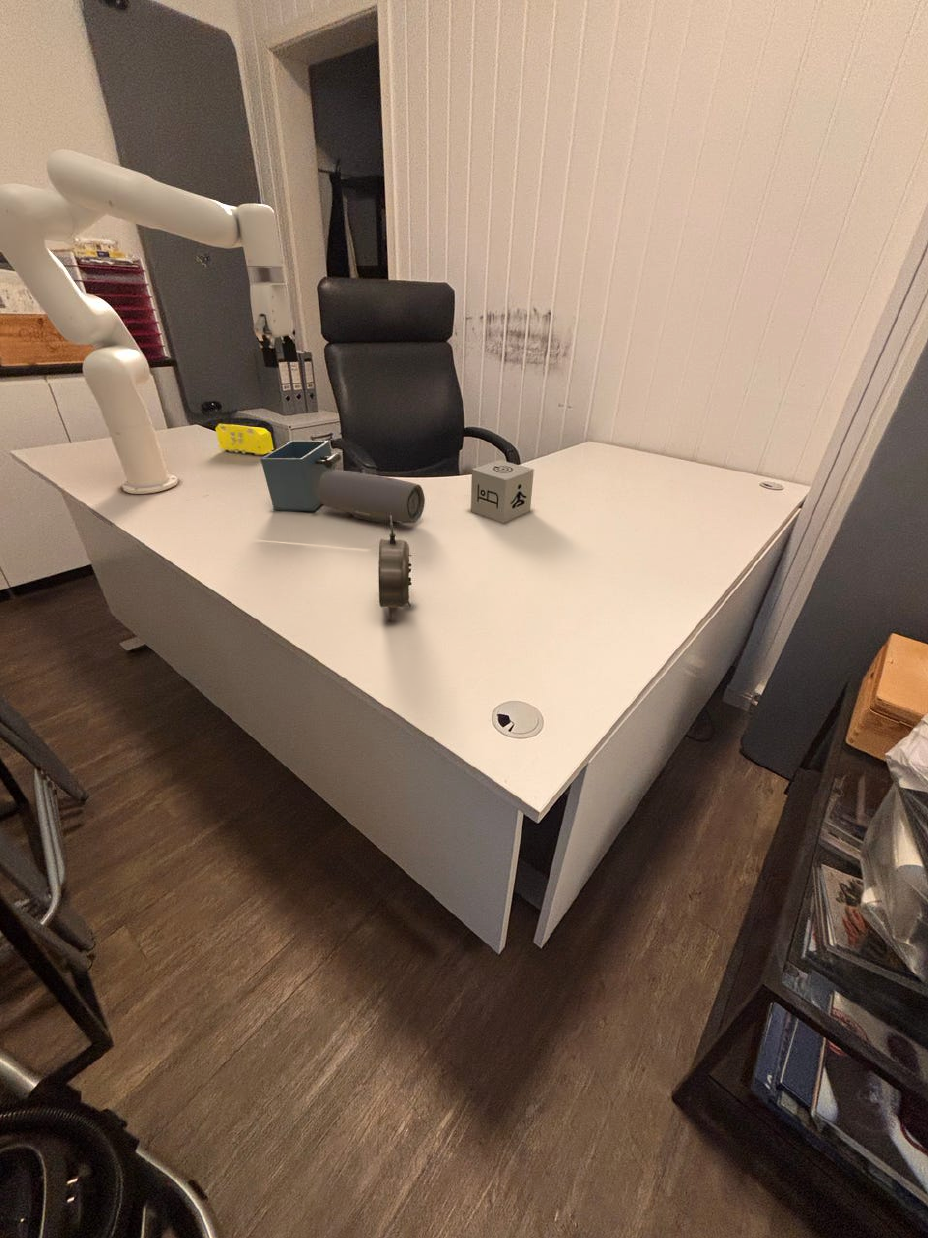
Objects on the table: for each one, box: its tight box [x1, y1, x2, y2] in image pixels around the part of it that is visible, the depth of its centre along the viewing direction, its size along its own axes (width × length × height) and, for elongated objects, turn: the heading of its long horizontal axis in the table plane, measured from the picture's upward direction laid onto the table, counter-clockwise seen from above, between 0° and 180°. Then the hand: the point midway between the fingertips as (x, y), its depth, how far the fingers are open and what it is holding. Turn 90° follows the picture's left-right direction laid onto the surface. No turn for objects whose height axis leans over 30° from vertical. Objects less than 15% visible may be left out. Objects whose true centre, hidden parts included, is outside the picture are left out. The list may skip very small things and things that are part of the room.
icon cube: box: [470, 459, 535, 524], centre depth 117 cm, size 10×10×10 cm
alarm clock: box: [377, 516, 412, 623], centre depth 81 cm, size 11×5×16 cm, turn 5°
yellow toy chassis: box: [214, 423, 275, 456], centre depth 155 cm, size 16×6×8 cm, turn 71°
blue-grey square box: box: [260, 440, 342, 512], centre depth 120 cm, size 12×15×14 cm
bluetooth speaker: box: [318, 469, 426, 525], centre depth 113 cm, size 23×9×10 cm, turn 66°
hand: (282, 364), depth 120 cm, fingers open, 9 cm apart
